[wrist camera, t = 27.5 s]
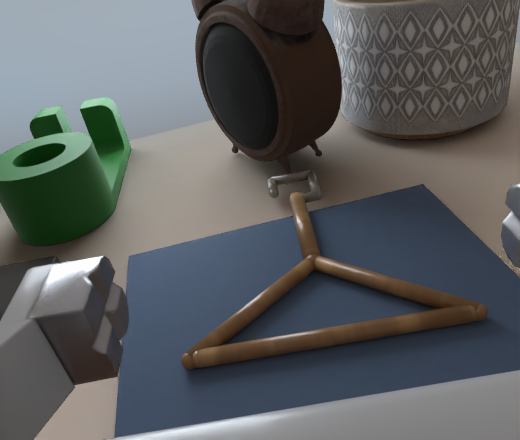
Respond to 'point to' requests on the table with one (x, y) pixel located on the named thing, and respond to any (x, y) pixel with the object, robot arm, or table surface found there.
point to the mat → (310, 313)
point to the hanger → (447, 305)
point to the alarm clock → (268, 74)
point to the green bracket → (65, 174)
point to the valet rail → (17, 278)
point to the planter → (424, 63)
